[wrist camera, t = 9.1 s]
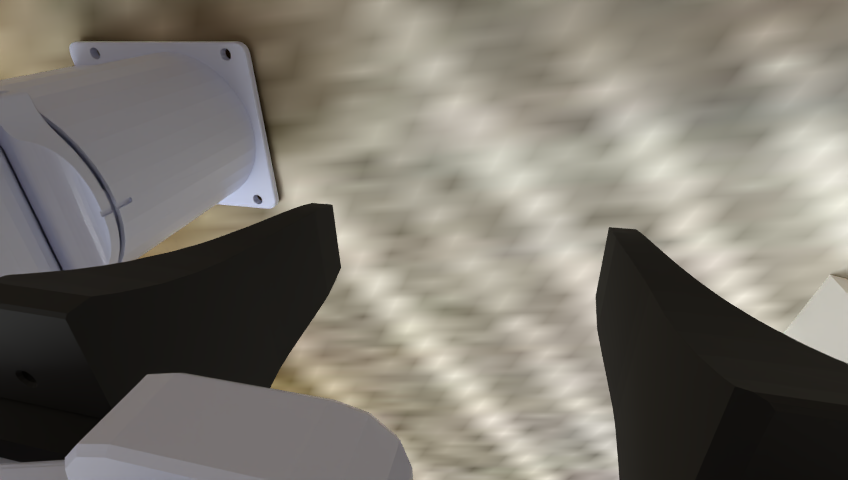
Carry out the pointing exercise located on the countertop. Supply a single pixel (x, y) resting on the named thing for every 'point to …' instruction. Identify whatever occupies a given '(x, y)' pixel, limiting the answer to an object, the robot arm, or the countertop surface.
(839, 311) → the milk
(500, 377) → the countertop surface
